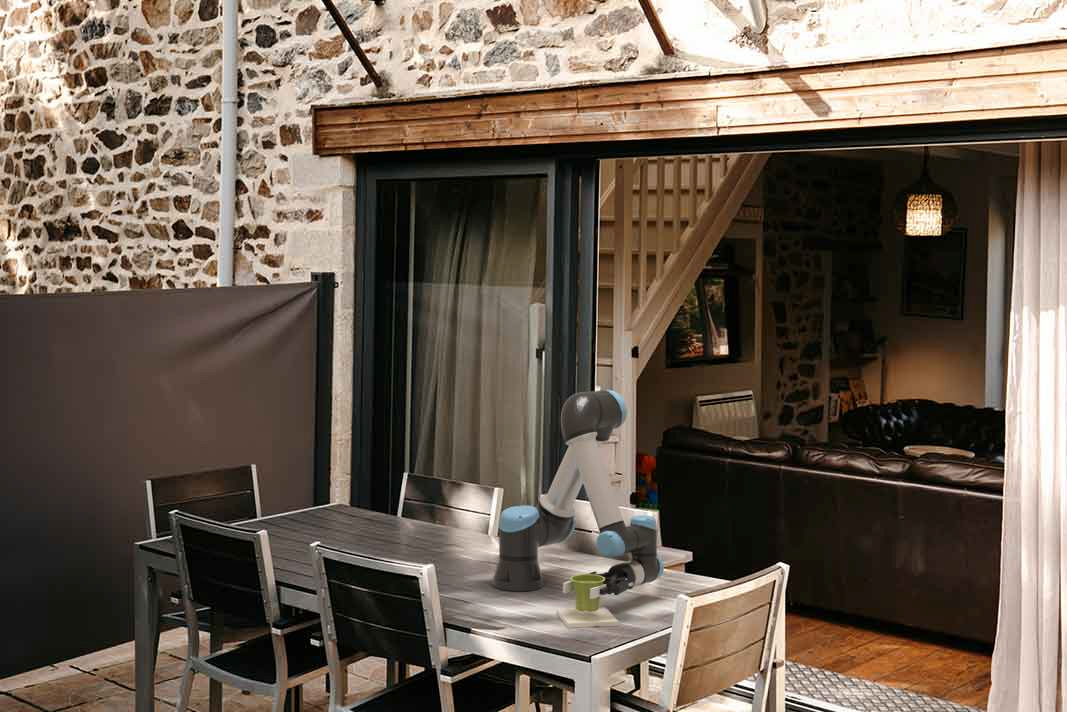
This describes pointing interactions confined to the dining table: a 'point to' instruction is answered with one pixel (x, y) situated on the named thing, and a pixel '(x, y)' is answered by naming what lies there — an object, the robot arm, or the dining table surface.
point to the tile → (586, 618)
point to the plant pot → (586, 591)
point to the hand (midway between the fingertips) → (577, 590)
